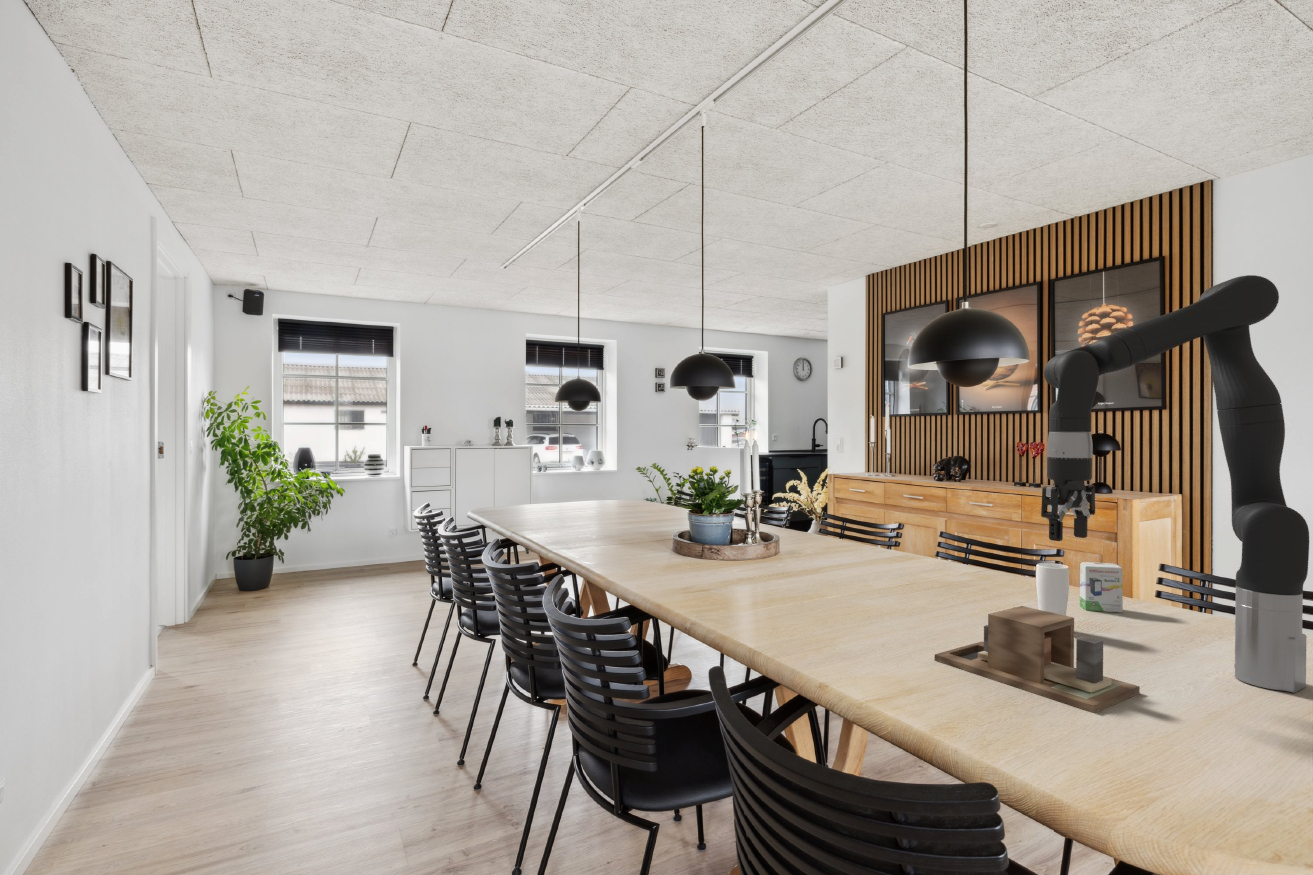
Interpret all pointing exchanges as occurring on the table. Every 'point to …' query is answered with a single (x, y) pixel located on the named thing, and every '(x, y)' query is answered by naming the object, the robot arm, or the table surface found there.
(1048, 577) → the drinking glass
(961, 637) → the table surface
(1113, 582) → the ink box
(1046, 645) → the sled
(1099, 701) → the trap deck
